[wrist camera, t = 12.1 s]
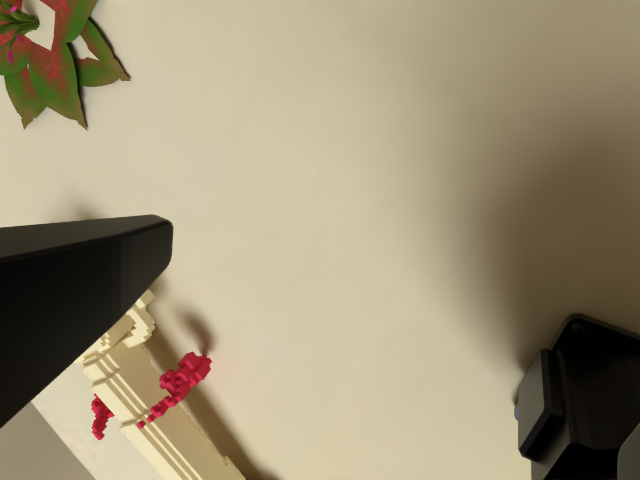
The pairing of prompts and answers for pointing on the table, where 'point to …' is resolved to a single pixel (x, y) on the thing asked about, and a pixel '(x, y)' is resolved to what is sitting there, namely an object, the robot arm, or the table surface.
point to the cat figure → (151, 400)
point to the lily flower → (52, 60)
